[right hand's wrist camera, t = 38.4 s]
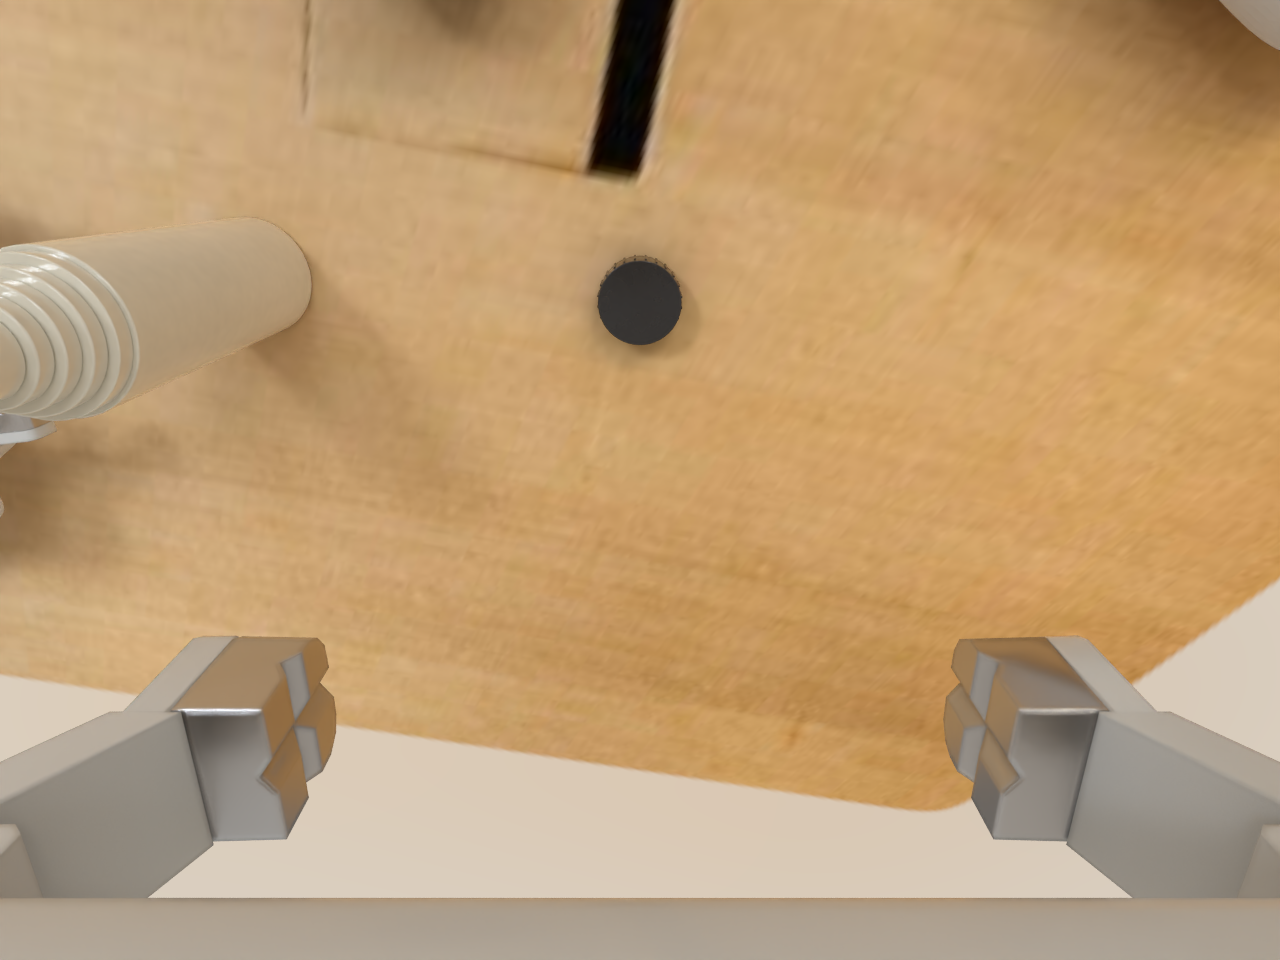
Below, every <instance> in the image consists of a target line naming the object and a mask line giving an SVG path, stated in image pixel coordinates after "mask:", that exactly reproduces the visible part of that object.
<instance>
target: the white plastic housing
mask: <svg viewBox="0 0 1280 960" xmlns="http://www.w3.org/2000/svg"><path fill="white" fill-rule="evenodd" d="M1219 1H1220V2H1221V3H1222V4H1223V5H1224V6H1225V7H1226V8H1227V9H1228V10H1229V11H1230V12H1231V13H1232V14H1233V15H1234V16H1235V17H1236V18H1237V19H1238V20H1239V21H1240V22H1241V23H1242V24H1243V25H1244V26H1245V27H1246V28H1247V29H1248V30H1250V31H1251V32H1252V33H1253V34H1255V35H1256V36H1257V37H1259V38H1260V39H1261V40H1262V41H1264V42H1265V43H1267V44H1269V45H1270V46H1272V47H1274V48H1276V49H1278V50H1280V0H1219Z"/></svg>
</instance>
